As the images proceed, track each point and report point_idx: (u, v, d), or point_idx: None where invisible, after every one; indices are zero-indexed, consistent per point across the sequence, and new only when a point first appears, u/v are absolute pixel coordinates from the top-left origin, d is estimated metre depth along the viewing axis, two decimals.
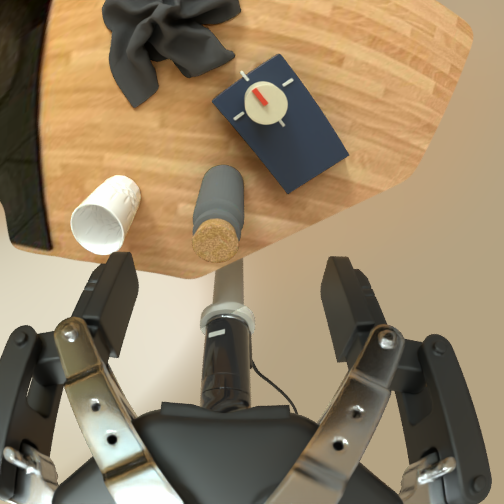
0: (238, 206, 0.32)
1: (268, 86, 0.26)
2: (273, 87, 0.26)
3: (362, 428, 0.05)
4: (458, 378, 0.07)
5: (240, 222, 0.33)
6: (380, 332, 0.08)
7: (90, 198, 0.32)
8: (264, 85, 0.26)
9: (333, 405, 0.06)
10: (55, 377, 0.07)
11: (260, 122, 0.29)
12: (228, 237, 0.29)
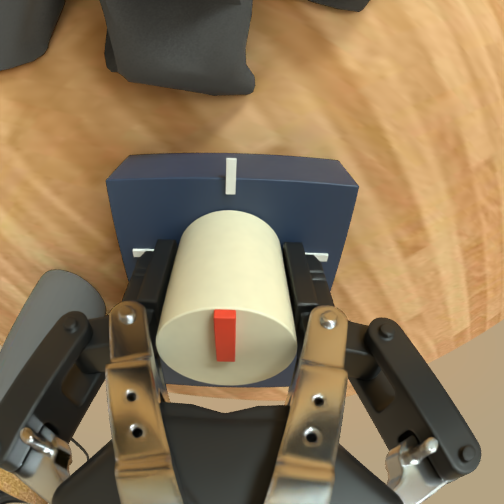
0: None
1: (275, 325, 0.08)
2: (286, 333, 0.08)
3: (330, 414, 0.06)
4: (415, 357, 0.07)
5: None
6: (321, 313, 0.09)
7: None
8: (266, 314, 0.08)
9: (293, 399, 0.06)
10: (105, 363, 0.08)
11: (179, 371, 0.09)
12: None
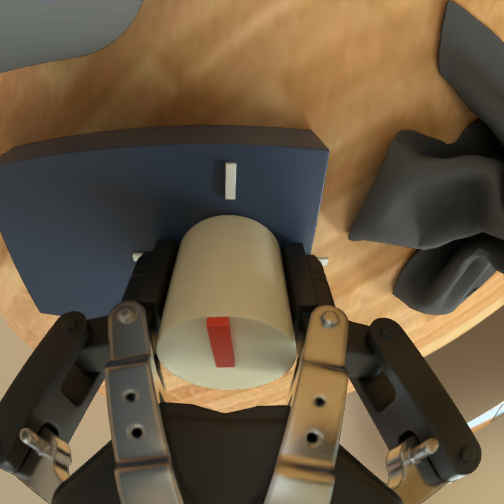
0: None
1: (270, 330, 0.08)
2: (282, 337, 0.08)
3: (330, 414, 0.06)
4: (416, 358, 0.07)
5: None
6: (322, 313, 0.09)
7: None
8: (260, 320, 0.08)
9: (294, 399, 0.06)
10: (104, 363, 0.08)
11: (182, 377, 0.09)
12: None
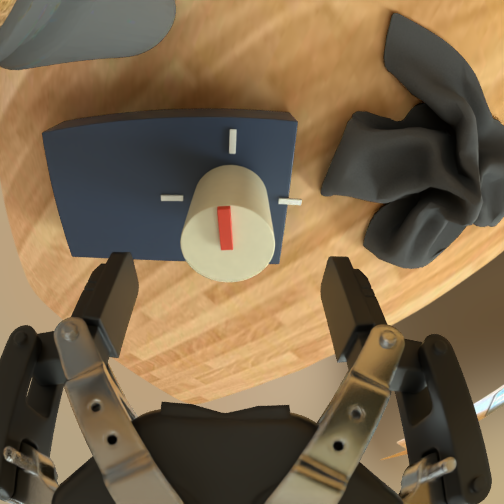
0: (33, 66, 0.06)
1: (256, 218, 0.13)
2: (264, 225, 0.13)
3: (362, 428, 0.05)
4: (458, 378, 0.07)
5: None
6: (380, 332, 0.08)
7: None
8: (250, 210, 0.13)
9: (333, 405, 0.06)
10: (55, 377, 0.07)
11: (195, 268, 0.14)
12: None
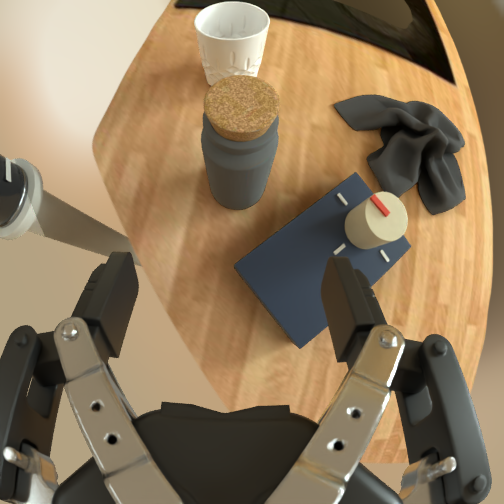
0: (263, 165, 0.21)
1: (385, 193, 0.24)
2: (389, 194, 0.24)
3: (362, 428, 0.05)
4: (458, 378, 0.07)
5: (239, 163, 0.20)
6: (380, 332, 0.08)
7: None
8: (380, 192, 0.24)
9: (333, 405, 0.06)
10: (55, 377, 0.07)
11: (385, 238, 0.23)
12: (256, 118, 0.16)
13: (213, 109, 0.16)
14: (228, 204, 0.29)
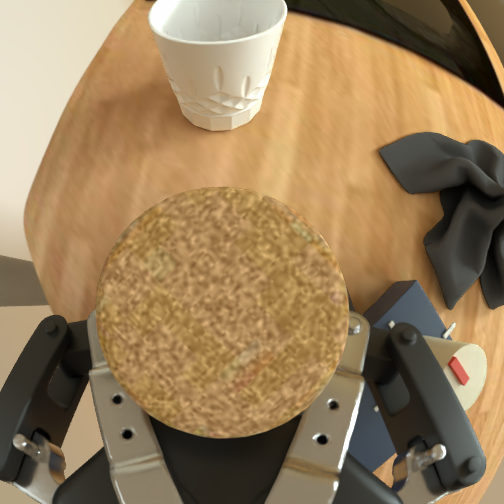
0: None
1: (468, 347, 0.12)
2: (473, 346, 0.12)
3: (342, 418, 0.05)
4: (432, 364, 0.07)
5: None
6: None
7: None
8: (462, 347, 0.12)
9: None
10: (85, 367, 0.08)
11: None
12: (271, 392, 0.05)
13: (125, 355, 0.05)
14: None
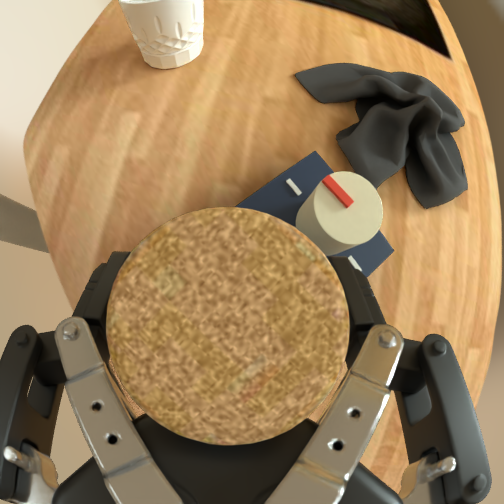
0: None
1: (346, 173, 0.16)
2: (354, 175, 0.16)
3: (361, 428, 0.05)
4: (457, 378, 0.07)
5: None
6: (379, 331, 0.08)
7: None
8: (339, 173, 0.16)
9: (332, 405, 0.06)
10: (56, 377, 0.07)
11: (346, 241, 0.16)
12: (275, 403, 0.05)
13: (136, 369, 0.05)
14: None
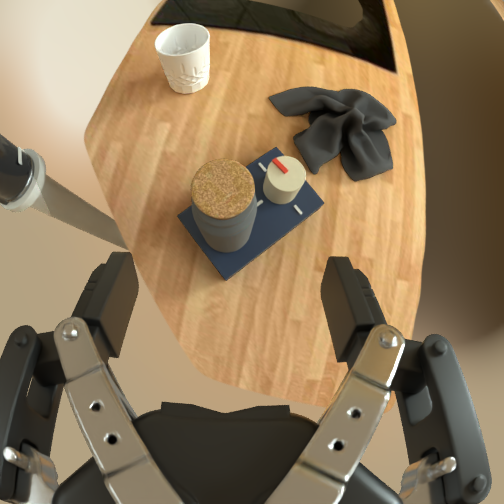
0: (244, 230, 0.26)
1: (285, 157, 0.32)
2: (290, 157, 0.33)
3: (362, 428, 0.05)
4: (458, 378, 0.07)
5: (224, 231, 0.25)
6: (380, 332, 0.08)
7: (209, 42, 0.34)
8: (282, 157, 0.33)
9: (333, 405, 0.06)
10: (55, 377, 0.07)
11: (283, 189, 0.32)
12: (234, 204, 0.21)
13: (199, 196, 0.21)
14: (218, 250, 0.34)
